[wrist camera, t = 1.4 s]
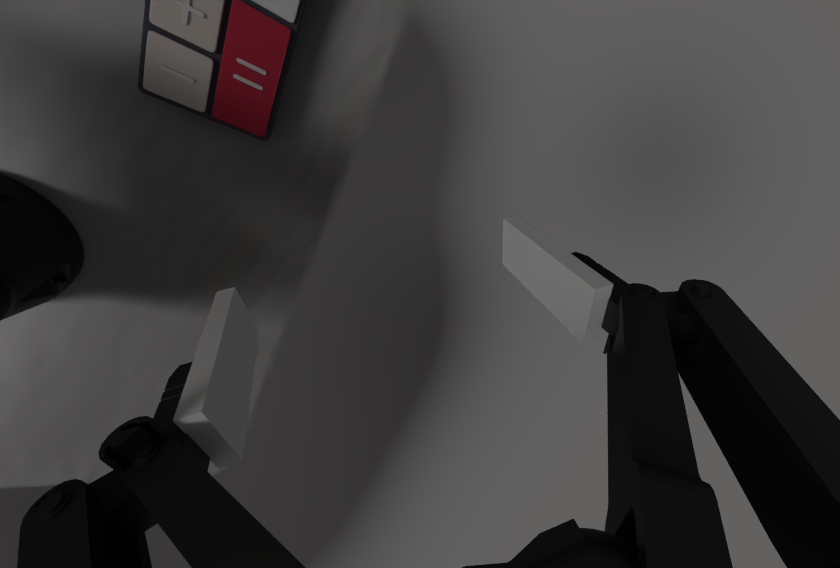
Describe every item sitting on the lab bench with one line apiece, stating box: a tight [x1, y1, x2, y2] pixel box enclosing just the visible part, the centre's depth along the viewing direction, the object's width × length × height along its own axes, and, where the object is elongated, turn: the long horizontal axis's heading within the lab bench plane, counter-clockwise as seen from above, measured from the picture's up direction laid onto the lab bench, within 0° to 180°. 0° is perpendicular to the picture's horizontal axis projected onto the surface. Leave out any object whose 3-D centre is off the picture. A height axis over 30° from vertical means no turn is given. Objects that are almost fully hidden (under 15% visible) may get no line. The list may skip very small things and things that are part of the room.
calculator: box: [138, 0, 306, 141], centre depth 30 cm, size 11×4×15 cm
